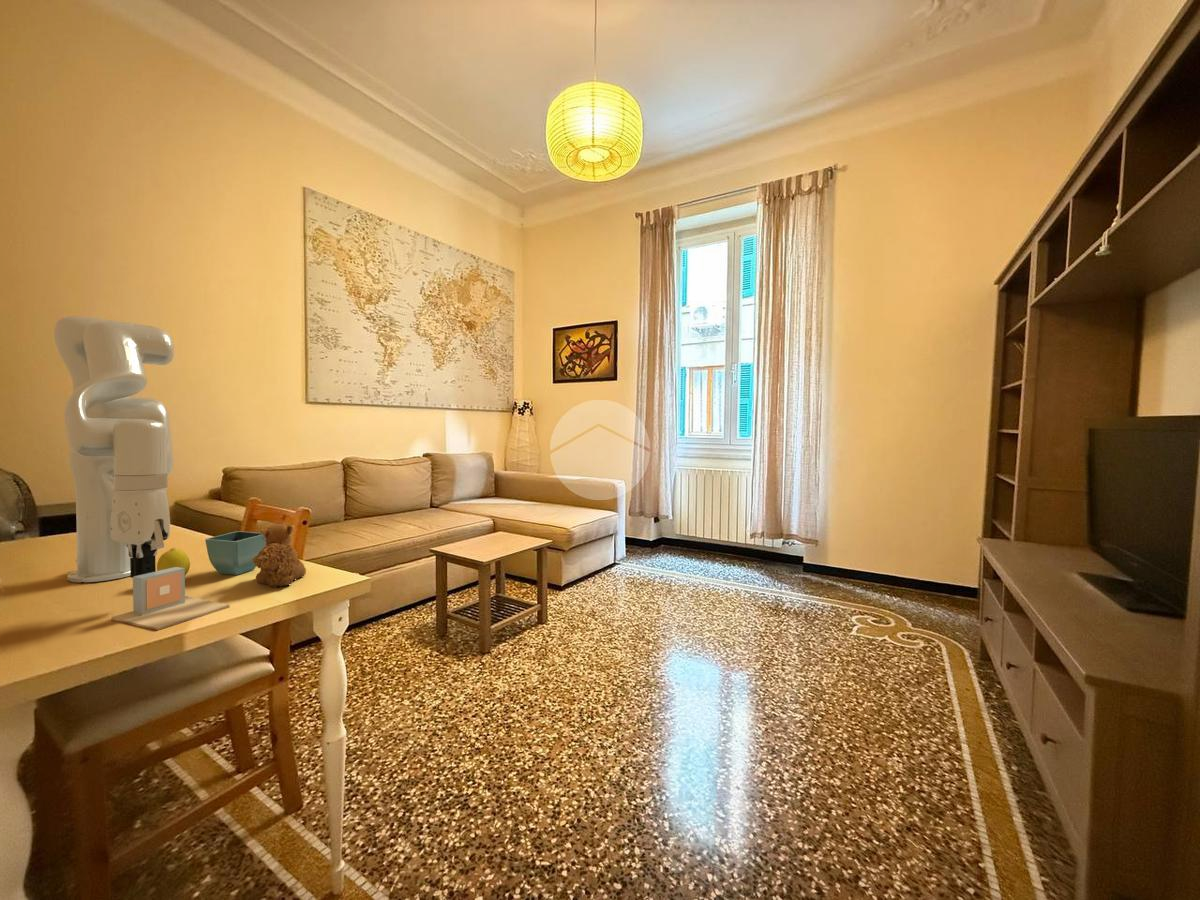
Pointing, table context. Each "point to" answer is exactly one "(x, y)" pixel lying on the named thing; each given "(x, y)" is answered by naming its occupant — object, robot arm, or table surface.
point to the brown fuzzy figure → (278, 558)
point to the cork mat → (172, 614)
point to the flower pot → (234, 551)
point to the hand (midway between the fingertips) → (143, 576)
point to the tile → (158, 590)
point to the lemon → (173, 560)
